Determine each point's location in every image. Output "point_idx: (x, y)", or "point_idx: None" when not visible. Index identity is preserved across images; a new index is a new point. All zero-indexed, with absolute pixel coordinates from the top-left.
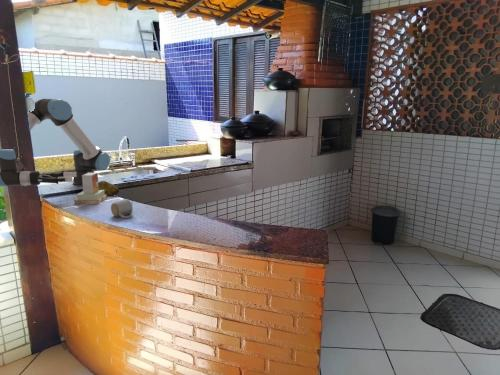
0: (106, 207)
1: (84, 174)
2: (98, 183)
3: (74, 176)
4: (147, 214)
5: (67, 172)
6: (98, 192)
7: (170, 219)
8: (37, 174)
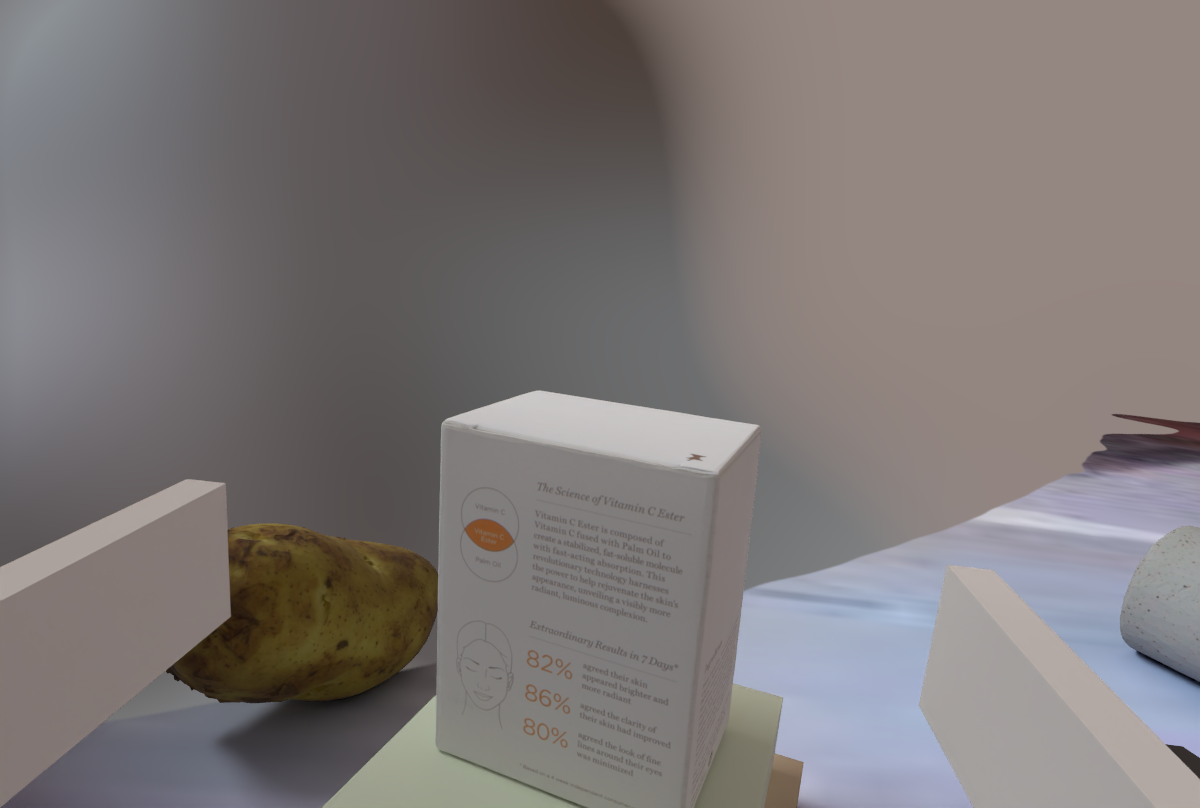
0: None
1: (624, 453)
2: (235, 592)
3: (196, 632)
4: (1115, 584)
5: (8, 598)
6: None
7: None
8: None
